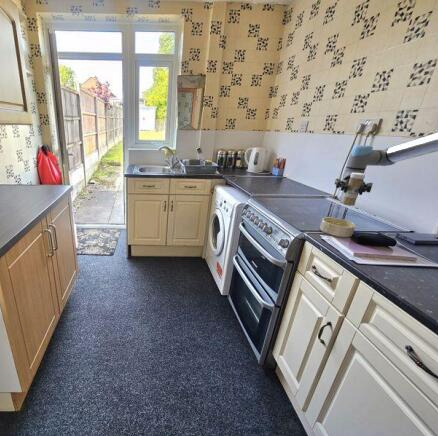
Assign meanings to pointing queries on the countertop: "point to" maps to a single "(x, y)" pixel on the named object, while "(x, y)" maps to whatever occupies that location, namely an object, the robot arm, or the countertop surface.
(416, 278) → the countertop surface
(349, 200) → the sprinkles bottle
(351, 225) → the beige round bowl
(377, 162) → the robot arm
